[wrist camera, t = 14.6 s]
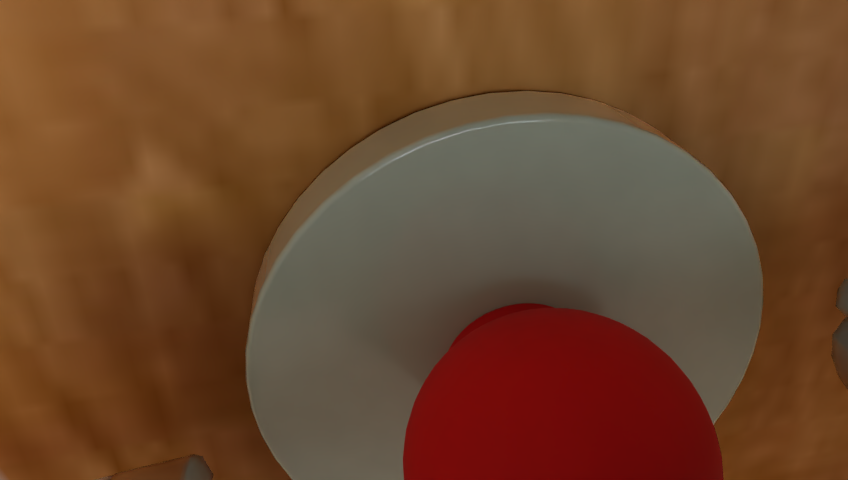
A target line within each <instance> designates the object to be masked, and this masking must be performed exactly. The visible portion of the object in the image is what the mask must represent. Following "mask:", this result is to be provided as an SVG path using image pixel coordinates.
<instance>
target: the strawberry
mask: <svg viewBox="0 0 848 480" xmlns="http://www.w3.org/2000/svg"><path fill="white" fill-rule="evenodd" d="M403 473H404V480H723V466H722V456H721V451H720V447H719V443H718V439H717V435H716V432H715V428H714V425H713V423H712V420H711V418H710V415H709V413H708V411H707V408H706V406H705V405H704V403H703V401H702V399H701V397H700V395H699V394H698V392H697V390H696V389H695V387H694V386H693V384H692V382H691V381H690V380H689V378H688V377H687V376H686V375H685V373H684V372H683V371H682V370H681V369H680V367H679V366H678V365H677V364H676V363H675V362H674V361H673V360H672V358H671V357H670V356H668V355H667V354H666V353H665V352H664V351H663V350H662V349H660V348H659V347H658V346H657V345H656V344H654V343H653V342H652V341H651V340H649V339H648V338H647V337H645V336H643V335H642V334H640V333H638V332H637V331H635V330H634V329H632V328H630V327H628V326H626V325H624V324H622V323H620V322H618V321H615V320H613V319H610V318H608V317H605V316H601V315H598V314H594V313H590V312H587V311H583V310H576V309H569V308H554V307H551V306H547V305H543V304H535V303H522V304H514V305H509V306H504V307H501V308H498V309H495V310H493V311H491V312H488V313H486V314H484V315H483V316H481V317H479V318H477V319H476V320H475V321H473V322H472V323H470V324H469V325H468V326H467V327H466V328H465V329H464V330H463V331H461V333H460V334H459V335H458V336H457V337H456V339H455V340H454V342H453V343H452V345H451V346H450V348H449V350H448V352H447V353H446V354H445V355H444V356H443V357H442V358H441V359H440V360H439V362H438V363H437V364H436V365H435V366H434V368H433V369H432V371H431V372H430V374H429V375H428V377H427V378H426V380H425V382H424V384H423V385H422V387H421V389H420V391H419V393H418V395H417V397H416V400H415V402H414V405H413V408H412V411H411V415H410V418H409V421H408V425H407V428H406V434H405V442H404V451H403Z"/></svg>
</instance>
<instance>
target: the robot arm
mask: <svg viewBox="0 0 848 480" xmlns="http://www.w3.org/2000/svg"><path fill="white" fill-rule="evenodd" d="M836 307H837V308H838V309H839V310H840V311H841V313H842V314H843V315H844V316H845V319H844V320H843V321H842V323H841V324H840V325H839V327H838V328H837V329H836V331H835V332H834V333H833V336H832V358H833V361H834V364H835V367H836V370H837V373H838V376H839V378H840V379H841V381H842V382H843V384H844V385H845V387H846V388H847V390H848V278H846V279H844V281H843V282H842V284H841V285H840V287H839V289H838V292H837V300H836ZM95 480H213V473H212V471H211V470H210V468H209V466H208V465H207V463H206V461H205V460H204V458H203V457H202V456H199V455H190V456H185V457H181V458H177V459H173V460H169V461H165V462H161V463H157V464H153V465H149V466H145V467H141V468H136V469H132V470H128V471H124V472H120V473H116V474H115V475H112V476H108V477H103V478H99V479H95Z"/></svg>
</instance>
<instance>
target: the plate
mask: <svg viewBox="0 0 848 480" xmlns="http://www.w3.org/2000/svg"><path fill="white" fill-rule="evenodd" d="M522 303H535V304H543V305H547V306H551V307H554V308H569V309H576V310H583V311H587V312H590V313H594V314H598V315H601V316H605V317H608V318H610V319H613V320H615V321H618V322H620V323H622V324H624V325H626V326H628V327H630V328H632V329H634V330H635V331H637V332H638V333H640V334H642V335H643V336H645V337H647V338H648V339H649V340H651V341H652V342H653V343H654V344H656V345H657V346H658V347H659V348H660V349H662V350H663V351H664V352H665V353H666V354H667V355H668V356H670V357H671V358H672V360H673V361H674V362H675V363H676V364H677V365H678V366H679V367H680V369H681V370H682V371H683V372H684V373H685V375H686V376H687V377H688V378H689V380H690V381H691V382H692V384H693V386H694V387H695V389H696V390H697V392H698V394H699V395H700V397H701V399H702V401H703V403H704V405H705V406H706V408H707V411H708V413H709V415H710V418H711V420H712V423H713V425H714V424H715V422H716V421H717V419H718V418H719V417H720V415H721V414H722V412H723V411H724V410H725V408H726V407H727V406H728V404H729V403H730V401H731V399H732V397H733V396H734V394H735V392H736V390H737V388H738V387H739V385H740V383H741V381H742V380H743V377H744V375H745V372H746V370H747V368H748V365H749V363H750V360H751V358H752V356H753V353H754V349H755V345H756V342H757V338H758V334H759V330H760V326H761V317H762V309H763V274H762V269H761V264H760V259H759V254H758V249H757V245H756V242H755V239H754V237H753V234H752V232H751V229H750V227H749V224H748V222H747V219H746V217H745V215H744V214H743V212H742V210H741V209H740V207H739V205H738V204H737V202H736V201H735V199H734V197H733V196H732V194H731V193H730V191H729V190H728V189H727V188H726V187H725V186H724V185H723V184H722V182H721V181H720V180H719V179H718V178H717V177H716V176H715V175H714V173H713V172H712V171H711V170H710V169H708V168H707V167H706V166H705V165H703V164H702V163H701V162H700V161H698V160H697V159H696V158H695V157H693V156H692V155H691V154H690V153H688V152H687V151H686V150H684V149H683V148H682V147H680V146H679V145H678V144H676V143H675V142H674V141H672V140H671V139H670V138H668V137H667V136H665V135H664V134H663V133H661V132H660V131H659V130H657V129H656V128H655V127H653V126H651V125H649V124H647V123H646V122H644V121H642V120H640V119H639V118H637V117H635V116H633V115H631V114H630V113H628V112H625V111H623V110H620V109H617V108H615V107H612V106H609V105H607V104H604V103H601V102H599V101H596V100H591V99H586V98H582V97H577V96H572V95H568V94H563V93H550V92H536V91H516V92H500V93H488V94H483V95H477V96H472V97H467V98H462V99H457V100H452V101H449V102H446V103H443V104H440V105H437V106H434V107H431V108H428V109H424V110H421V111H418V112H416V113H413V114H411V115H409V116H407V117H405V118H403V119H401V120H399V121H397V122H394V123H392V124H390V125H388V126H386V127H384V128H382V129H380V130H379V131H377V132H375V133H374V134H372V135H371V136H369V137H368V138H366V139H365V140H363V141H361V142H360V143H358V144H357V145H355V146H354V147H352V148H350V149H349V150H348V151H347V152H346V153H344V154H343V155H342V156H341V157H340V158H338V159H337V160H336V161H335V162H334V163H332V164H331V165H330V166H329V167H328V168H326V169H325V170H324V171H323V172H322V173H321V174H320V175H319V176H318V177H317V178H316V179H315V180H314V181H313V183H312V184H311V185H310V186H309V187H308V188H307V189H306V190H305V191H304V192H303V193H302V195H301V196H300V197H299V198H298V199H297V201H296V202H295V203H294V205H293V206H292V208H291V209H290V211H289V212H288V214H287V215H286V217H285V218H284V219H283V221H282V222H281V224H280V225H279V227H278V229H277V231H276V233H275V235H274V237H273V239H272V241H271V243H270V245H269V247H268V249H267V251H266V253H265V255H264V258H263V261H262V264H261V268H260V271H259V274H258V277H257V280H256V283H255V289H254V295H253V302H252V308H251V315H250V322H249V329H248V336H247V343H246V350H245V361H246V384H247V389H248V395H249V400H250V405H251V409H252V412H253V415H254V417H255V420H256V423H257V425H258V428H259V431H260V433H261V435H262V437H263V439H264V440H265V442H266V444H267V446H268V447H269V449H270V451H271V452H272V454H273V456H274V458H275V459H276V460H277V462H278V463H279V464H280V465H281V467H282V468H283V469H284V470H285V471H286V473H287V474H288V475H289V476H290V478H291V479H292V480H404V473H403V451H404V442H405V434H406V428H407V425H408V421H409V418H410V415H411V411H412V408H413V405H414V402H415V400H416V397H417V395H418V393H419V391H420V389H421V387H422V385H423V384H424V382H425V380H426V378H427V377H428V375H429V374H430V372H431V371H432V369H433V368H434V366H435V365H436V364H437V363H438V362H439V360H440V359H441V358H442V357H443V356H444V355H445V354H446V353H447V352H448V350H449V348H450V346H451V345H452V343H453V342H454V340H455V339H456V337H457V336H458V335H459V334H460V333H461V331H463V330H464V329H465V328H466V327H467V326H468V325H469V324H470V323H472V322H473V321H475V320H476V319H477V318H479V317H481V316H483V315H484V314H486V313H488V312H491V311H493V310H495V309H498V308H501V307H504V306H509V305H514V304H522Z"/></svg>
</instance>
